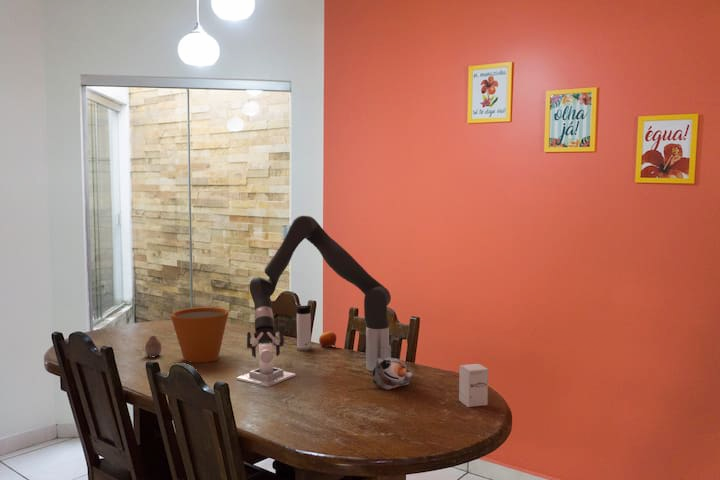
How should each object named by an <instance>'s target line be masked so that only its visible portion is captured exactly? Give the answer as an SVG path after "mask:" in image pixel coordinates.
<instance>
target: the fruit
mask: <svg viewBox="0 0 720 480" xmlns="http://www.w3.org/2000/svg"><path fill="white" fill-rule="evenodd" d="M318 342H319V344H320V346H322V347H324V348H331V347H333V346H335V347H337V346H336V342H337V334H336V333H335V332H333V331H332V330H329V331H325V332H323V333H322V334H320V336H319V337H318ZM328 346H329V347H328Z"/></svg>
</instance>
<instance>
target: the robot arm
mask: <svg viewBox="0 0 720 480" xmlns="http://www.w3.org/2000/svg"><path fill="white" fill-rule="evenodd" d="M305 239H306V240H307V241H308V242H309V243H310V244H312V245H313V246H314V247H315V248H316V249H317V250H318V252H319V254H320V255H321V256H322V258H323V260H324V261H325V262H326V264H327V265H328V267H329V268H330V269H332V270H333V271H334V272H335V273H336V275H338V276H339V277H340V278H342V279H343V280H346V282H348V283H351V284H352V285H354V286H355V287H357V288H358V289H359V290H360V291H361V292H362V293H363V294H364V299H363V308H364V309H363V311H364V321H365V369H366V370H367V371H370V372H373V370H374V368H375V367H376V363H377V359H379V358H381V359H382V360H384V359H386V358H392V353H391V352H392V347H391V344H390V320H389V318H388V312H387V310H388V308H387V307H388V305H389V304H390V302H391V293H390V291H389V290H388V288H387V287H385V285H382V283H380V282H379V281H377V280H376V279H375V278H373V276H371V274H369V272H367V271H366V269H365V268H363V266H362V265H361V264H359V262H358V261H357V260H356V259H355V258H354V257H353V256H352V255H351V254H350V253H349V252H347V250H346V249H345V248H343V247H342V246H341V245H340V244H339V243H338V242H336V241H335V240H334V239H333V238H332V237H331V236H330V235H328V233H327V232H326V231H325V230H324V228H323V227H322V226H321V225H320V223H318V221H317V220H316V219H315V218H313V217H312V216H310V215H299V216H297V217H295V218H294V220H293V221H292V223H291V225H290V227H289V228H288V231H287V233H286V236H284V239H283V241H282V243H281V245H280V246H279V248H278V249H277V250H276V252H275V253H274V255H273V257H272V258H271V259H270V261H269V262H268V263H267V265H266V266H265V267H264V273H265V275H266V276H267V277H268V279H265V278H262V277H261V276H255V277H253V278H252V279H251V281H250V282H249V287H248V288H249V292H250V296H251V298H252V301H253V304H254V320H253V321H254V332H253V333H252V332H250V331H248V332H247V335H246V337H247V338H246V348H247V349H251V356H252V357H253V358H254V359H255V358H257V352H256V351H257V350H256V348H257V347H259V345H260V344H263V343H271V344H273V346H274V347H275V355H276V356H275V357H279V355H280V353H281V347H284V345H285V341H284V340H285V339H284V333H283V332H284V331H283V330H279V331H277V332H276V331H275V323H274V322H275V321H274V313H273V304H272V303H273V302H272V299H271V298H270V297H271V296H272V295H273V294H274V293H275V291H276V288H277V284H278V282H279V279H280V278H281V276H282V274H283V273H284V272H285V270H286V269H287V267H288V265H289V264H290V261H291V259H292V257H293V255H294V253H295V251H296V249H297V248H298V246H299V245H300V244H301V243H302V242H303V241H304V240H305ZM276 336H277V338H279V341H278V340H277V338H276ZM253 338H255V339H254V341H253V342H252V343H251V340H253Z"/></svg>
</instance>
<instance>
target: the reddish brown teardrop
mask: <svg viewBox="0 0 720 480" xmlns="http://www.w3.org/2000/svg"><path fill="white" fill-rule="evenodd" d="M162 349H163V346H162V343H161V342H160V340H159V339H158V338H157V336H155V335H152V336H149V339H148V340H147V341H146V343H145V346H144V352H145V355H146V356H147V357H148V356H151V357H150V358H153V357H152V356H158V355H159V356H160V355H161V353H162ZM159 356H158V357H159Z"/></svg>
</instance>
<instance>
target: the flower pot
mask: <svg viewBox="0 0 720 480" xmlns="http://www.w3.org/2000/svg"><path fill="white" fill-rule="evenodd" d="M228 315H229V310H228V309H227V308H226V309H225V308H221V307H210V306H205V307H203V306H201V307H200V306H199V307H189V308H183V309H179V310H178V309H177V310H176V311H173V312H172V313H171V314H170V318H171V321H172V323H173V328H174V331H175V335H176V337H177V340H178V341H177V342H178V344H179V347H180V351H181V354H182V358H183V360H184V359H185V360H187V361H191V362H190V363H192V362H205V363H209V362H208V361H211V362H214V360H215V361H217V360H218V359H219V357H220V356H219V355H220V351H221V347H222V342H223V338H224V334H225V329H226V324H227V320H228V317H229V316H228ZM216 359H217V360H216ZM185 360H184V361H185ZM187 361H186V362H187Z"/></svg>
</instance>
